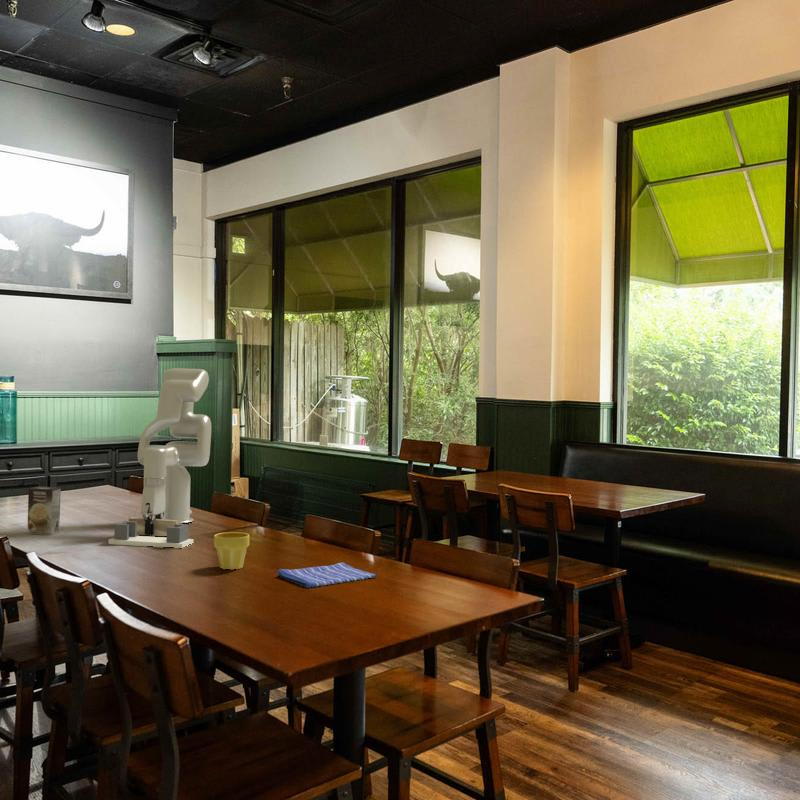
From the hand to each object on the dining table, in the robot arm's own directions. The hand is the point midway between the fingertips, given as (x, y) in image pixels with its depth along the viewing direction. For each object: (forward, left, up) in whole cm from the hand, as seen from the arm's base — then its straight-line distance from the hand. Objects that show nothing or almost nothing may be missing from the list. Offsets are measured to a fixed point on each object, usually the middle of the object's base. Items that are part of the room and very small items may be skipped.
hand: (153, 532), depth 286 cm
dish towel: (+44, +74, -2) cm, 86 cm away
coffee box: (+7, -38, -1) cm, 39 cm away
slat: (0, 0, -1) cm, 1 cm away
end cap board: (+14, +6, -1) cm, 15 cm away
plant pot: (+40, +44, -1) cm, 59 cm away
